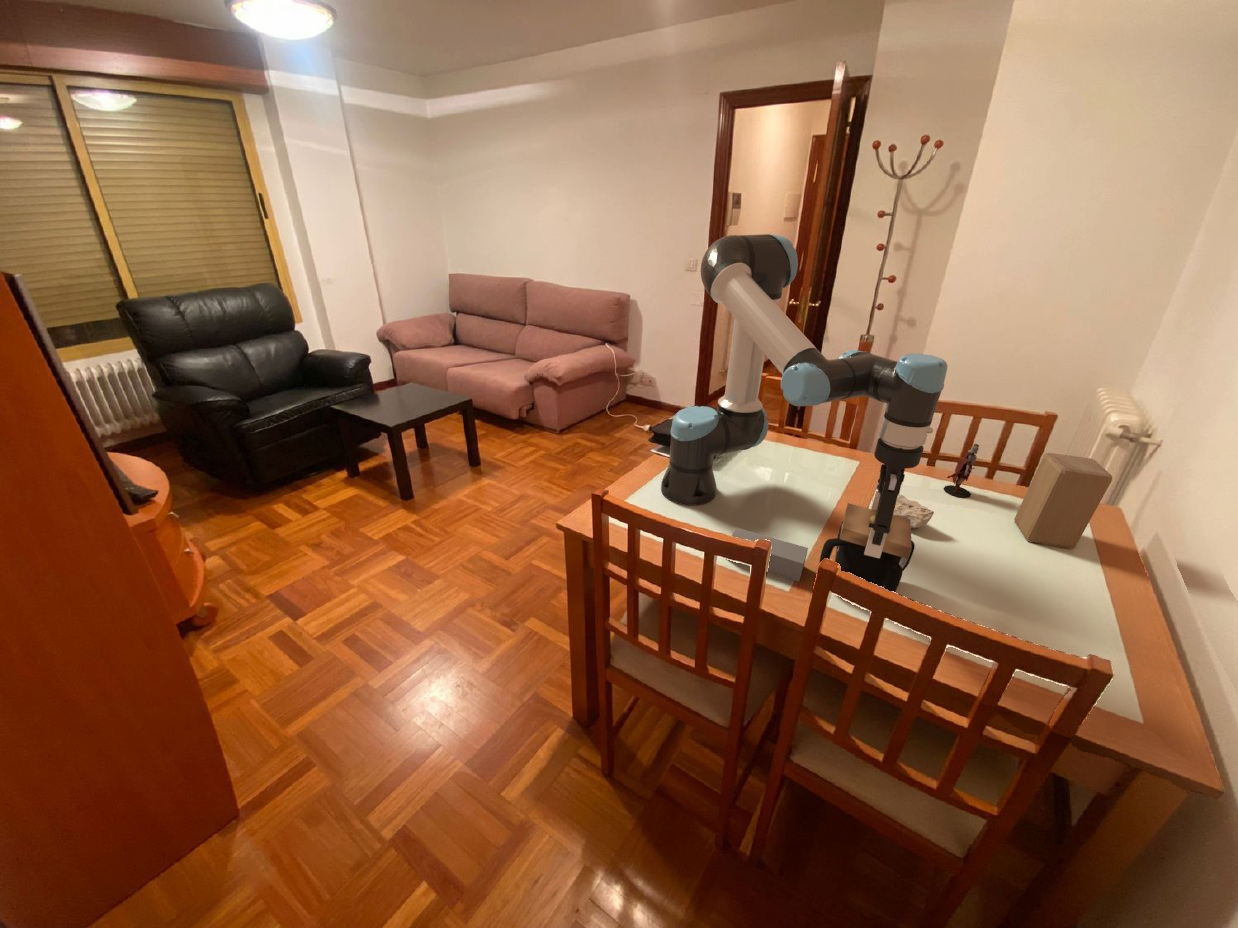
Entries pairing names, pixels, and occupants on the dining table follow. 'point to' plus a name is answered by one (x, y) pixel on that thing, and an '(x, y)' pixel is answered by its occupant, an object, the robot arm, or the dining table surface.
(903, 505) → the stone
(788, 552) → the riser
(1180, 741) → the dining table surface
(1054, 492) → the wooden block
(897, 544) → the lid
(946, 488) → the figurine
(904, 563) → the mug
